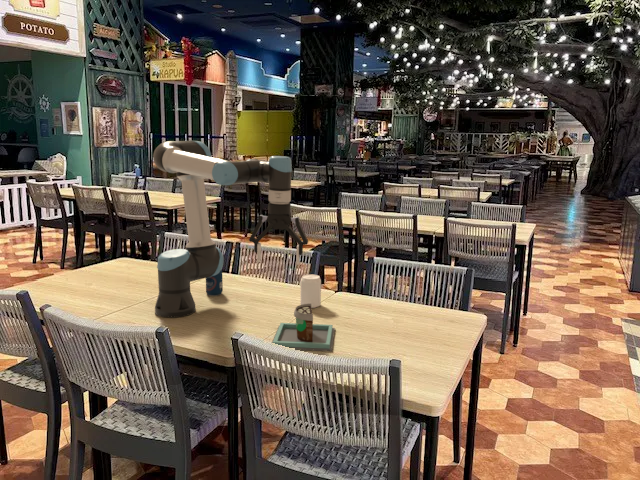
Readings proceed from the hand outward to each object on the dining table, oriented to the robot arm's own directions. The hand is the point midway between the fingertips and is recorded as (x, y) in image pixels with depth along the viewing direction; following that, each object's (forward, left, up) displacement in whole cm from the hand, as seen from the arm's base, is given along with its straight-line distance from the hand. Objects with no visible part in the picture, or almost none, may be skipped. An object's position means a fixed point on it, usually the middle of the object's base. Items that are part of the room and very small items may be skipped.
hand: (278, 262), depth 197 cm
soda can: (-33, +38, -24) cm, 55 cm away
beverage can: (+9, +27, -24) cm, 37 cm away
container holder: (+10, -9, -24) cm, 28 cm away
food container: (+10, -9, -23) cm, 27 cm away
